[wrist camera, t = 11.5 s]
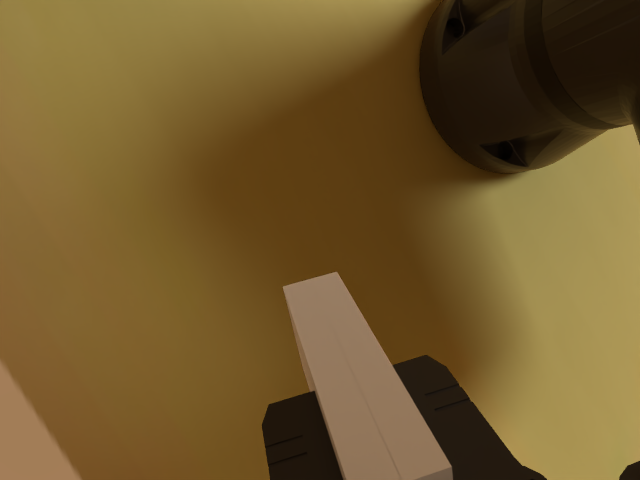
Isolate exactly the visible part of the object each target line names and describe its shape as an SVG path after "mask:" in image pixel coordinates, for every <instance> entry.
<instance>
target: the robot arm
mask: <svg viewBox="0 0 640 480" xmlns="http://www.w3.org/2000/svg"><path fill="white" fill-rule="evenodd" d="M420 79H421V86H422V92H423V96H424V100H425V103H426V106H427V109H428V112H429V114H430V116H431V118H432V121H433V123H434V124H435V126H436V128H437V130H438V131H439V133H440V134H441V136H442V137H443V139H444V140H445V141H446V142H447V143H448V145H449V146H450V147H451V148H452V149H453V150H454V151H455V152H456V153H457V154H458V155H460V156H461V157H462V158H464V159H465V160H466V161H468V162H469V163H471V164H473V165H475V166H477V167H479V168H481V169H484V170H487V171H491V172H496V173H516V172H523V171H529V170H534V169H539V168H542V167H545V166H548V165H550V164H553V163H555V162H557V161H558V160H560V159H562V158H563V157H565V156H567V155H568V154H570V153H571V152H573V151H575V150H576V149H578V148H579V147H581V146H583V145H584V144H586V143H588V142H589V141H591V140H592V139H594V138H596V137H597V136H599V135H600V134H602V133H604V132H605V131H607V130H609V129H613V128H617V127H622V126H626V125H631V124H633V126H634V129H635V132H636V135H637V138H638V141H639V144H640V0H443V1H442V2H441V4H440V5H439V6H438V7H437V9H436V10H435V12H434V14H433V15H432V17H431V19H430V21H429V23H428V26H427V28H426V31H425V34H424V38H423V42H422V47H421V54H420ZM283 290H284V294H285V298H286V302H287V306H288V310H289V315H290V319H291V323H292V327H293V331H294V335H295V339H296V343H297V347H298V351H299V355H300V359H301V363H302V367H303V371H304V374H305V377H306V380H307V383H308V387H309V390H310V392H308V393H305V394H302V395H298V396H295V397H292V398H289V399H285V400H282V401H279V402H276V403H272V404H269V405H268V408H267V411H266V414H265V417H264V420H263V423H262V430H263V436H264V443H265V448H266V455H267V462H268V467H269V475H270V480H547V479H546V478H545V477H544V476H543V475H542V474H540V473H538V472H536V471H533V470H531V469H529V468H527V467H525V466H522V465H521V464H520V463H519V462H518V461H517V460H516V459H515V457H514V456H513V455H512V454H511V452H510V451H509V450H508V448H507V447H506V446H505V444H504V443H503V442H502V440H501V439H500V438H499V436H498V435H497V434H496V433H495V431H494V430H493V429H492V427H491V426H490V425H489V423H488V422H487V421H486V419H485V418H484V417H483V415H482V414H481V413H480V411H479V410H478V409H477V407H476V406H475V405H474V403H473V402H471V401H470V398H469V397H468V395H467V394H466V393H465V391H464V390H463V389H462V387H460V386H459V383H458V382H457V381H456V379H455V378H454V377H453V375H452V374H451V373H450V371H449V370H448V369H447V367H446V366H444V365H442V364H441V363H439V362H437V361H436V360H434V359H432V358H431V357H429V356H427V355H424V356H421V357H418V358H414V359H411V360H408V361H405V362H401V363H398V364H395V365H392V364H391V363H390V361H389V359H388V358H387V356H386V354H385V352H384V351H383V349H382V347H381V346H380V344H379V342H378V341H377V339H376V337H375V335H374V334H373V332H372V330H371V329H370V327H369V325H368V324H367V322H366V320H365V318H364V317H363V315H362V313H361V312H360V310H359V308H358V307H357V305H356V303H355V301H354V300H353V298H352V296H351V295H350V293H349V291H348V290H347V288H346V286H345V285H344V283H343V281H342V279H341V278H340V276H339V274H338V273H337V272H333V273H330V274H326V275H322V276H319V277H315V278H312V279H308V280H304V281H301V282H297V283H293V284H290V285H286V286H283ZM619 480H640V461H638V462H636V463H633V464H631V465H628V466H627V467H626V469H625V470H624V471H623V473H622V474H621V475H620V477H619Z"/></svg>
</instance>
